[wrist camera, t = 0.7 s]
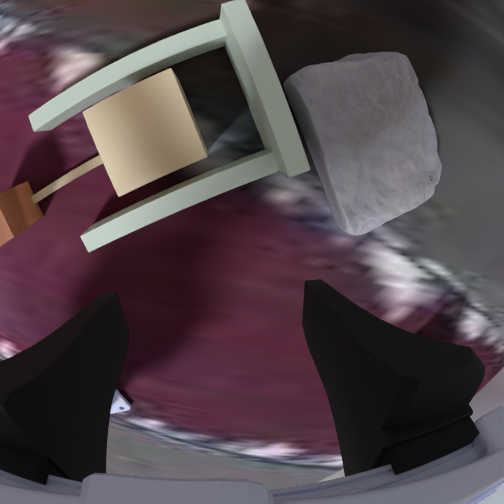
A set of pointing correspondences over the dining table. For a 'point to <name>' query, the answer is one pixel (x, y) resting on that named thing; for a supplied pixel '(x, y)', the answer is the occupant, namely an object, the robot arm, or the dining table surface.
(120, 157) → the tethered block
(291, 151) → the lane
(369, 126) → the stone block
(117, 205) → the dining table surface
